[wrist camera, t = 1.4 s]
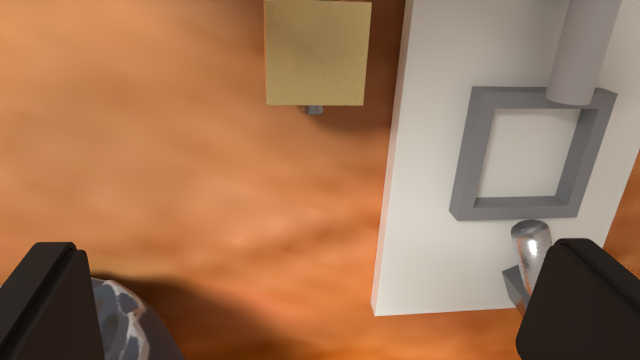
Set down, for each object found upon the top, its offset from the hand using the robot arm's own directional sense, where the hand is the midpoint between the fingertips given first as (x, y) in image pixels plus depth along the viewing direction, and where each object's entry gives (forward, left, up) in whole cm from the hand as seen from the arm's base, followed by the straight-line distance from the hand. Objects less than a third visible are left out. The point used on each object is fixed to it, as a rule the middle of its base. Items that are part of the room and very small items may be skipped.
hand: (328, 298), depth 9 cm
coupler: (-2, +2, -21) cm, 21 cm away
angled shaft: (+14, +19, -19) cm, 30 cm away
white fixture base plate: (+5, +17, -21) cm, 27 cm away
